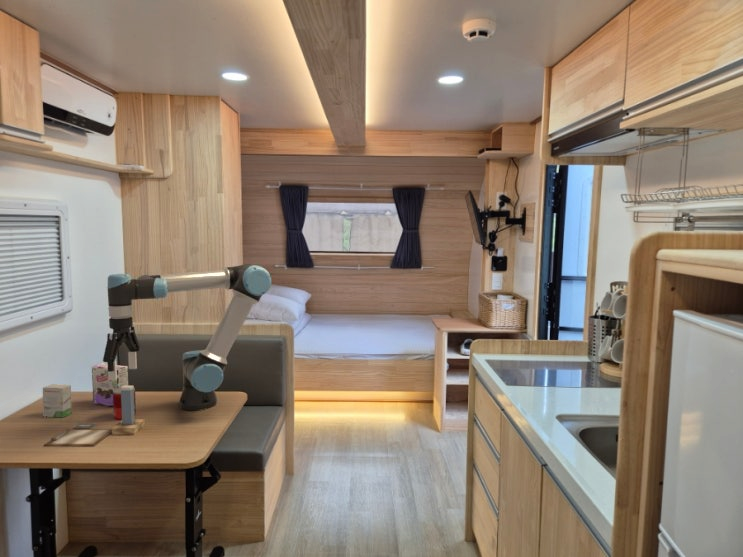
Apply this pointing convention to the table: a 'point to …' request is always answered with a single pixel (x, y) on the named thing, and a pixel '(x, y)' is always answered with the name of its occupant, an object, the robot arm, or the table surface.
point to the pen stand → (128, 428)
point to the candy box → (107, 383)
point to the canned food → (119, 403)
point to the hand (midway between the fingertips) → (123, 374)
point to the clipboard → (79, 437)
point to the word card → (83, 426)
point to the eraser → (127, 405)
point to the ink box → (56, 400)
